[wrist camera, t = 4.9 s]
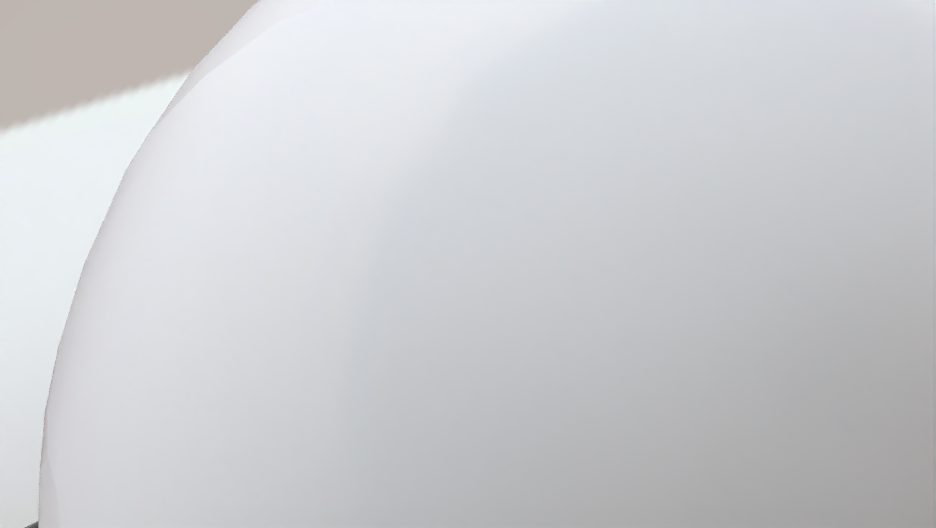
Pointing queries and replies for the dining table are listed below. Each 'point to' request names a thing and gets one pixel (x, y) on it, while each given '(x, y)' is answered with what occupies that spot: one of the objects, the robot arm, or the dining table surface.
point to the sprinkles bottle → (518, 275)
